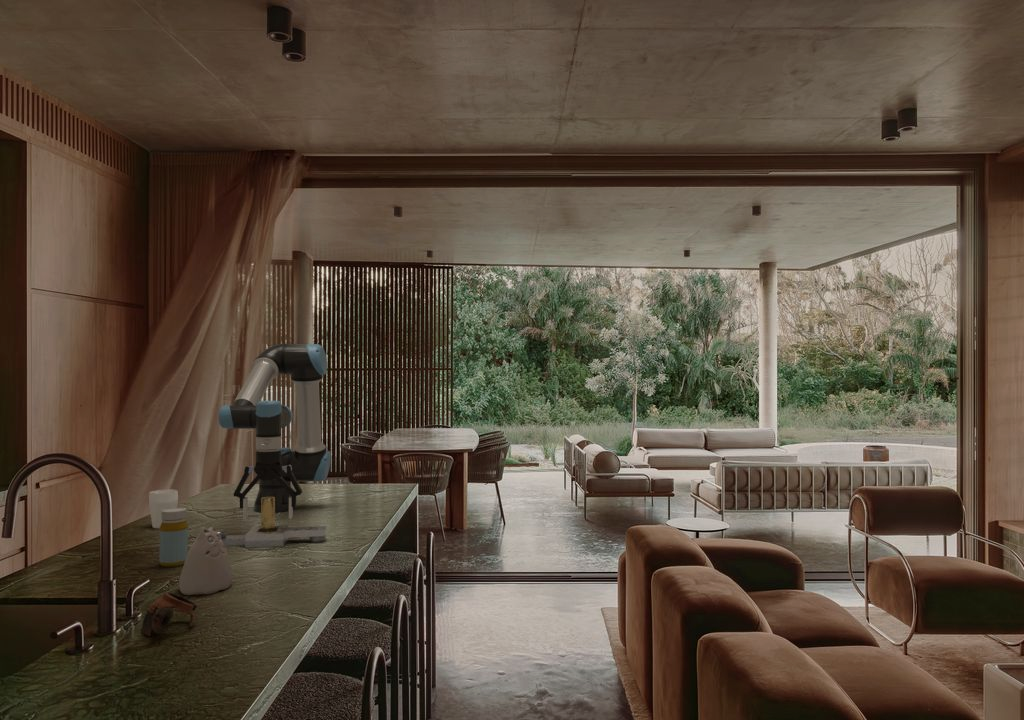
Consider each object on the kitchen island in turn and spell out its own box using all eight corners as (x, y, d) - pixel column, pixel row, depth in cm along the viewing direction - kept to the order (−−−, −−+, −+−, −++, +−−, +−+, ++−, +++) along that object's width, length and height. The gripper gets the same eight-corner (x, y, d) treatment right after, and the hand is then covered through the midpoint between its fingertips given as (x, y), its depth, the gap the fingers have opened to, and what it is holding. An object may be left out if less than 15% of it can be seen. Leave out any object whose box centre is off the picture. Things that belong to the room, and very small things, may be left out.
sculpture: (227, 594, 165) (227, 531, 165) (173, 598, 162) (174, 534, 162) (236, 578, 177) (236, 520, 177) (186, 581, 175) (187, 522, 175)
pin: (262, 541, 216) (262, 496, 216) (275, 540, 216) (276, 496, 216) (259, 544, 212) (260, 498, 212) (273, 544, 212) (273, 498, 212)
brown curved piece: (142, 626, 145) (164, 588, 148) (184, 644, 146) (205, 606, 149) (127, 631, 134) (151, 590, 137) (173, 651, 135) (195, 610, 138)
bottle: (193, 561, 192) (193, 508, 193) (173, 568, 186) (174, 513, 186) (173, 559, 195) (174, 506, 195) (153, 566, 188) (154, 511, 188)
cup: (183, 523, 240) (183, 489, 240) (167, 529, 231) (168, 494, 231) (159, 523, 241) (159, 489, 241) (142, 529, 232) (143, 493, 232)
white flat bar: (213, 540, 217) (213, 527, 217) (327, 536, 222) (327, 524, 222) (203, 549, 206) (203, 535, 206) (323, 545, 211) (323, 531, 211)
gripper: (223, 452, 209) (222, 522, 209) (308, 450, 213) (307, 519, 212) (229, 449, 216) (229, 516, 216) (311, 448, 220) (311, 514, 220)
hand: (268, 518), depth 214 cm, fingers open, 13 cm apart
